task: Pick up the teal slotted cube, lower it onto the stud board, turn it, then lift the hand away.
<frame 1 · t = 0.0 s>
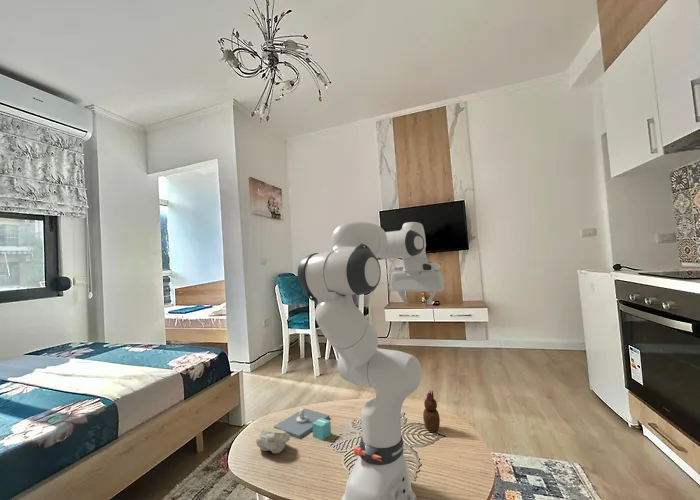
hand: (417, 303, 117), 48 cm above the table, fingers open, 8 cm apart
teal slotted cube: (322, 435, 120), on the table
wooden figurine: (432, 430, 120), on the table
stud board: (302, 423, 130), on the table
fossil replica: (273, 450, 112), on the table
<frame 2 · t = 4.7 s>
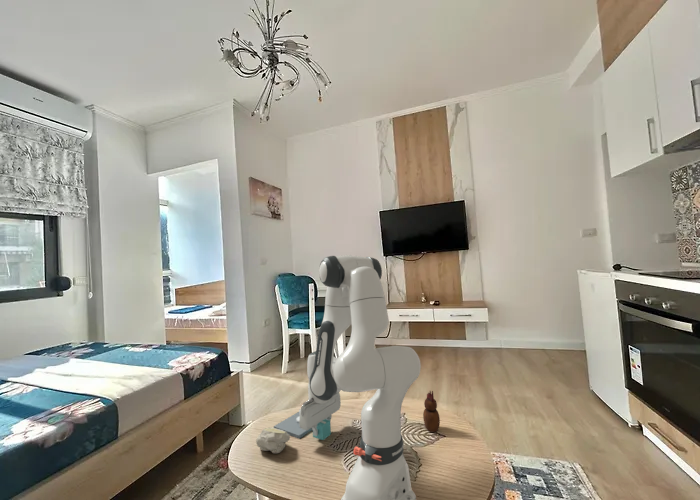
hand: (321, 431, 120), 2 cm above the table, fingers closed on teal slotted cube, 5 cm apart
teal slotted cube: (322, 435, 120), on the table, touching gripper
everything else where it was.
when the fingers open (5 cm above the table, at t = 10.6 s): teal slotted cube stays where it is, resting on stud board.
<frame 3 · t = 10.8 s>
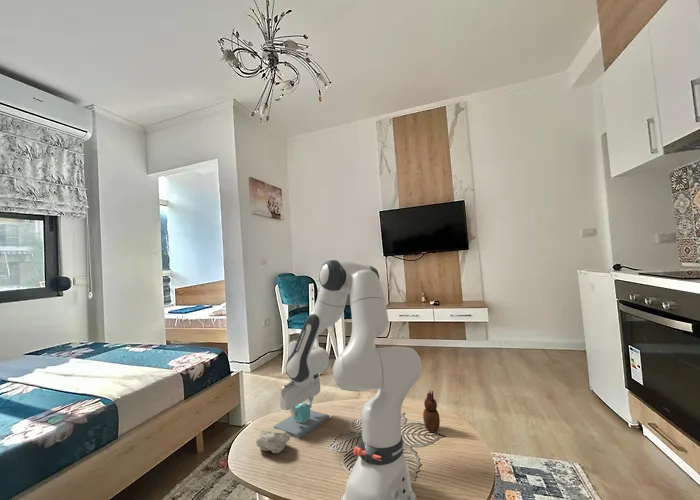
hand: (301, 412, 130), 5 cm above the table, fingers open, 7 cm apart
teal slotted cube: (302, 418, 130), point 2 cm above the table, touching stud board
everything else where it was.
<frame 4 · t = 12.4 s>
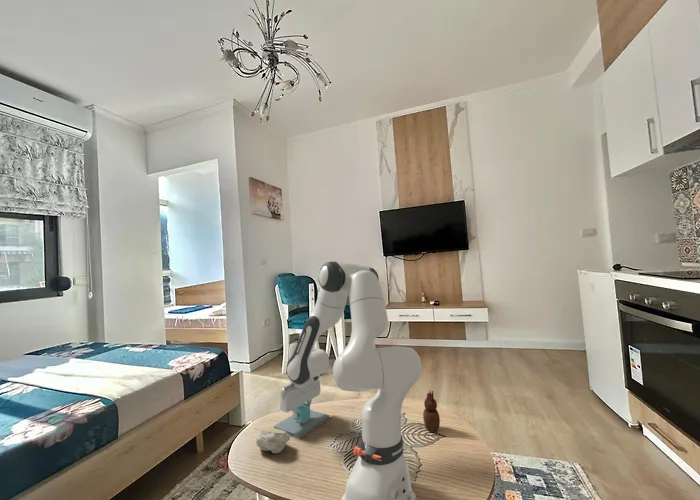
hand: (301, 414, 130), 4 cm above the table, fingers closed on teal slotted cube, 5 cm apart
teal slotted cube: (302, 418, 130), point 2 cm above the table, touching gripper, stud board
everything else where it was.
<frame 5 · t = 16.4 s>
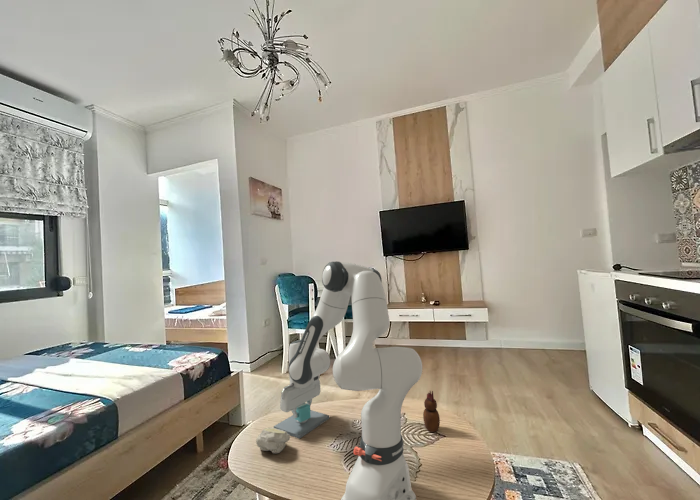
hand: (302, 414, 130), 4 cm above the table, fingers closed on teal slotted cube, 5 cm apart
teal slotted cube: (302, 418, 130), point 2 cm above the table, touching gripper, stud board
everything else where it was.
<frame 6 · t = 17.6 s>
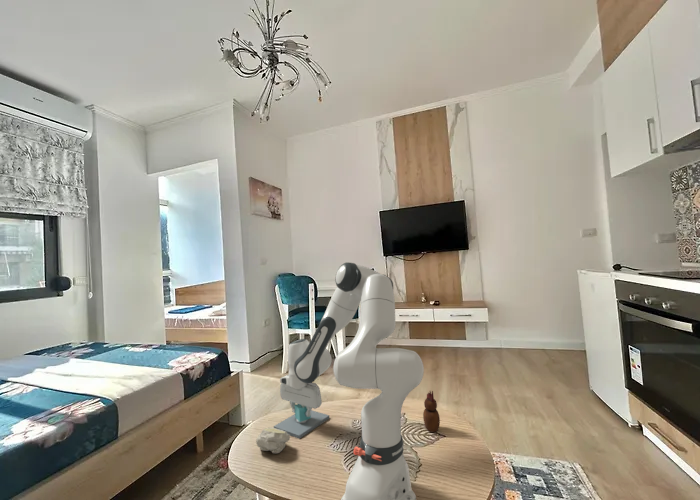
hand: (301, 414, 130), 4 cm above the table, fingers closed on teal slotted cube, 6 cm apart
teal slotted cube: (302, 417, 130), point 2 cm above the table, touching gripper, stud board
everything else where it was.
when the fingers open (4 cm above the table, at t = 17.9 s): teal slotted cube stays where it is, resting on stud board.
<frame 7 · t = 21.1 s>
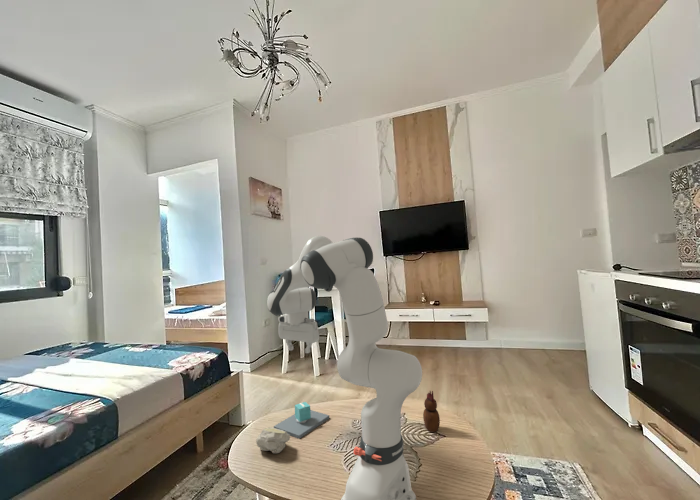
hand: (299, 351, 131), 29 cm above the table, fingers open, 8 cm apart
teal slotted cube: (302, 417, 130), point 2 cm above the table, touching stud board
everything else where it was.
at the end: teal slotted cube 0.4 cm off-centre on the stud board, point 2.2 cm above the stud board's base; teal slotted cube tilted 0°; the gripper is holding nothing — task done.
